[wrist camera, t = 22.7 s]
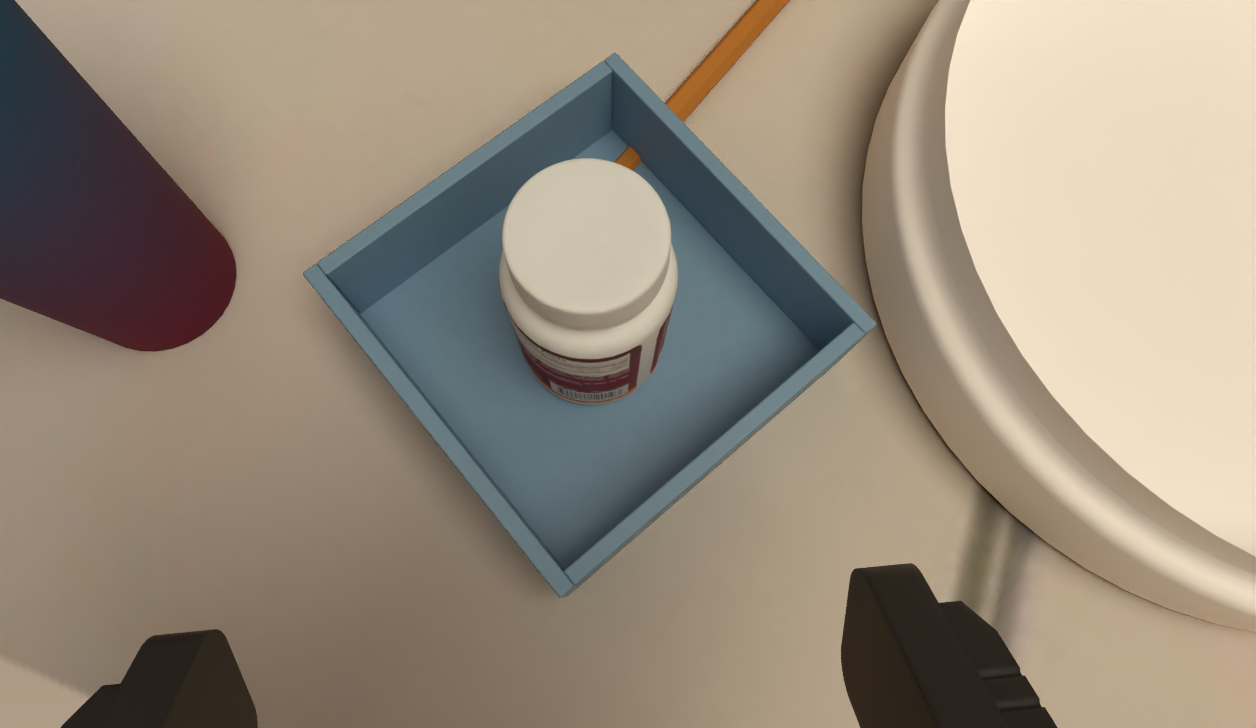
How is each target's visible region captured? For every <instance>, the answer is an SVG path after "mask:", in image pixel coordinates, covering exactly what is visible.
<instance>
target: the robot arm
mask: <svg viewBox="0 0 1256 728" xmlns="http://www.w3.org/2000/svg"><path fill="white" fill-rule="evenodd" d="M841 663H842V671H843V677H844V682H845V686H846V690H847V693H848V696H849V699H850V702H851V704H852V707H853V710H854V712H855V715H856V717H857V720H858V722H859V725H860V728H1057V726H1056V724H1055V723H1054V721H1053V720H1052V718H1051V717H1050V715H1049V713H1048V712H1047V710H1046V709H1045V707H1041V705H1040V702H1039V697H1038V696H1037V694H1036V693H1035V691H1034V689H1033V688H1032V686H1031V685H1030V683H1029V682H1028V680H1027V678H1026V677H1025V676H1022V675H1021V673H1020V667H1019V666H1018V664H1017V662H1016V661H1015V659H1014V658H1013V656H1012V654H1011V653H1010V651H1009V650H1008V648H1007V647H1006V645H1005V643H1004V642H1003V640H1002V639H1001V637H1000V635H999V634H998V632H997V631H996V630H995V629H994V628H993V627H991V626H990V625H989V624H988V623H987V622H985V621H984V620H983V619H982V618H981V617H980V616H978V615H977V614H976V613H975V612H974V611H972V610H971V609H970V608H969V607H968V606H966V605H965V604H964V603H963V602H962V601H955V602H945V603H938V601H937V599H936V598H935V596H934V594H933V592H932V591H931V589H930V587H929V585H928V584H927V582H926V580H925V578H924V577H923V575H922V573H921V572H920V570H919V569H918V568H917V567H916V566H915V565H914V564H911V563H909V564H898V565H888V566H878V567H868V568H858V569H854V570H853V572H852V574H851V577H850V583H849V591H848V599H847V607H846V614H845V622H844V630H843V638H842V645H841ZM61 728H258V723H257V714H256V709H255V706H254V703H253V701H252V699H251V696H250V694H249V691H248V689H247V687H246V684H245V682H244V679H243V677H242V675H241V672H240V670H239V667H238V665H237V663H236V660H235V658H234V655H233V653H232V650H231V648H230V646H229V643H228V641H227V639H226V637H225V635H224V634H223V633H222V632H221V631H220V630H217V629H215V630H205V631H195V632H185V633H175V634H164V635H155V636H152V637H150V638H149V639H147V640H146V641H145V642H144V644H143V645H142V646H141V648H140V650H139V651H138V653H137V655H136V657H135V659H134V660H133V662H132V664H131V666H130V668H129V669H128V671H127V673H126V675H125V677H124V679H123V680H122V682H121V684H114V685H104V686H102V687H101V688H100V689H99V690H98V691H97V692H96V693H95V694H94V695H93V696H92V697H90V698H89V699H88V700H87V701H86V703H84V705H82V706H81V707H80V708H79V709H78V710H77V711H76V712H75V713H74V714H73V715H72V716H71V717H70V718H69V719H68V720H67V721H66V722H65V723H64V724H63V725H62V727H61Z"/></svg>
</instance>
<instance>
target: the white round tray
mask: <svg viewBox="0 0 1256 728" xmlns="http://www.w3.org/2000/svg"><path fill="white" fill-rule="evenodd" d="M862 229H863V239H864V250H865V260H866V265H867V270H868V274H869V279H870V284H871V289H872V293H873V298H874V301H875V304H876V307H877V310H878V313H879V317H880V320H881V323H882V326H883V329H884V332H885V335H886V338H887V340H888V342H889V344H890V347H891V349H892V351H893V353H894V356H895V358H896V360H897V363H898V365H899V367H900V369H901V372H902V374H903V376H904V377H905V379H906V381H907V383H908V384H909V386H910V388H911V390H912V392H913V393H914V395H915V397H916V399H917V400H918V402H919V404H920V406H921V408H922V409H923V411H924V412H925V414H926V415H927V417H928V418H929V420H930V421H931V422H932V424H933V425H934V427H935V428H936V430H937V431H938V432H939V434H940V435H941V437H942V438H943V440H944V441H945V442H946V444H947V445H948V447H949V448H950V449H951V450H952V451H953V453H954V454H955V455H956V456H957V457H958V458H959V460H960V461H961V462H962V463H963V464H964V466H965V467H966V468H967V469H968V470H969V471H970V473H971V474H972V475H973V476H974V477H975V479H976V480H977V481H978V482H979V483H980V484H981V485H982V486H983V487H984V488H985V489H986V490H987V491H988V492H989V493H990V494H991V495H992V496H993V497H994V498H995V499H997V500H998V501H999V502H1000V503H1001V504H1002V505H1003V506H1004V507H1005V508H1006V509H1007V510H1008V511H1009V512H1010V513H1011V514H1012V515H1013V516H1015V517H1016V518H1017V519H1018V520H1020V521H1021V522H1022V523H1023V524H1024V525H1026V526H1027V527H1028V528H1029V529H1031V530H1032V531H1033V532H1034V533H1036V534H1037V535H1038V536H1039V537H1040V538H1042V539H1043V540H1044V541H1045V542H1047V543H1048V544H1050V545H1051V546H1053V547H1054V548H1056V549H1057V550H1059V551H1060V552H1062V553H1063V554H1065V555H1066V556H1068V557H1069V558H1070V559H1072V560H1073V561H1075V562H1076V563H1078V564H1079V565H1081V566H1082V567H1084V568H1085V569H1087V570H1089V571H1091V572H1093V573H1095V574H1097V575H1098V576H1100V577H1102V578H1104V579H1106V580H1108V581H1109V582H1111V583H1113V584H1115V585H1117V586H1119V587H1120V588H1122V589H1124V590H1126V591H1128V592H1130V593H1133V594H1135V595H1138V596H1140V597H1142V598H1145V599H1147V600H1149V601H1152V602H1154V603H1156V604H1159V605H1161V606H1163V607H1166V608H1168V609H1171V610H1173V611H1177V612H1180V613H1183V614H1186V615H1189V616H1192V617H1196V618H1199V619H1202V620H1205V621H1208V622H1211V623H1215V624H1218V625H1222V626H1227V627H1232V628H1237V629H1241V630H1246V631H1251V632H1256V0H939V1H938V2H937V3H936V5H935V6H934V7H933V9H932V11H931V12H930V14H929V16H928V18H927V19H926V21H925V23H924V25H923V27H922V28H921V30H920V32H919V34H918V35H917V37H916V39H915V41H914V42H913V44H912V46H911V48H910V49H909V51H908V53H907V55H906V56H905V58H904V60H903V62H902V64H901V65H900V67H899V69H898V71H897V73H896V75H895V76H894V78H893V80H892V82H891V84H890V86H889V87H888V90H887V92H886V95H885V97H884V100H883V102H882V105H881V107H880V110H879V113H878V115H877V118H876V121H875V125H874V129H873V133H872V137H871V140H870V144H869V148H868V152H867V159H866V166H865V174H864V181H863V192H862Z"/></svg>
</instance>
